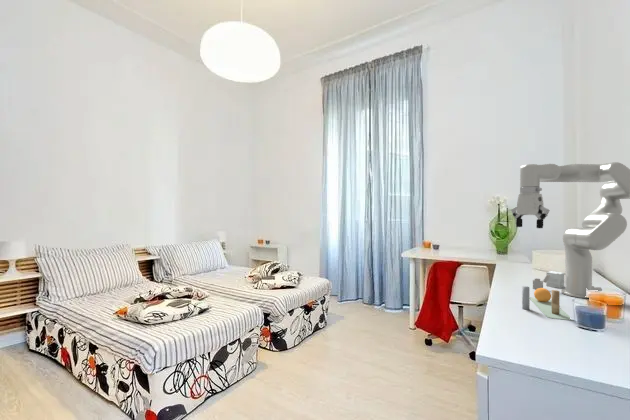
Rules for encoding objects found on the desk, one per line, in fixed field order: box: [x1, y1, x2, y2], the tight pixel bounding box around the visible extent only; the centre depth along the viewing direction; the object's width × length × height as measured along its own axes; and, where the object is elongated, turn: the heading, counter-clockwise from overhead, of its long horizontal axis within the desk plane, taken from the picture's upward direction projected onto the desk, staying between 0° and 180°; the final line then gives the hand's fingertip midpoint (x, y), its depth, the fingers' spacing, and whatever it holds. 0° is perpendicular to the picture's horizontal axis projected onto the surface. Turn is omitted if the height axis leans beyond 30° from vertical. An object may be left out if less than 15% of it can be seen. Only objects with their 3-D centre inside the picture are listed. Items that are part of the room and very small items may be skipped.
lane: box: [529, 296, 572, 321], centre depth 126 cm, size 28×8×1 cm, turn 157°
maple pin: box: [551, 289, 561, 315], centre depth 118 cm, size 2×2×9 cm
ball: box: [533, 287, 552, 302], centre depth 134 cm, size 6×6×6 cm
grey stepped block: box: [532, 274, 550, 290], centre depth 154 cm, size 7×2×8 cm, turn 52°
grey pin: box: [521, 285, 531, 311], centre depth 124 cm, size 2×2×9 cm
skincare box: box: [545, 270, 565, 289], centre depth 160 cm, size 6×6×7 cm
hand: (529, 227), depth 143 cm, fingers open, 9 cm apart
